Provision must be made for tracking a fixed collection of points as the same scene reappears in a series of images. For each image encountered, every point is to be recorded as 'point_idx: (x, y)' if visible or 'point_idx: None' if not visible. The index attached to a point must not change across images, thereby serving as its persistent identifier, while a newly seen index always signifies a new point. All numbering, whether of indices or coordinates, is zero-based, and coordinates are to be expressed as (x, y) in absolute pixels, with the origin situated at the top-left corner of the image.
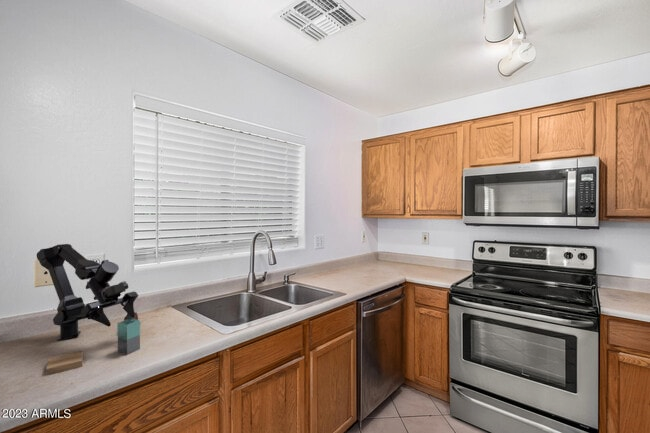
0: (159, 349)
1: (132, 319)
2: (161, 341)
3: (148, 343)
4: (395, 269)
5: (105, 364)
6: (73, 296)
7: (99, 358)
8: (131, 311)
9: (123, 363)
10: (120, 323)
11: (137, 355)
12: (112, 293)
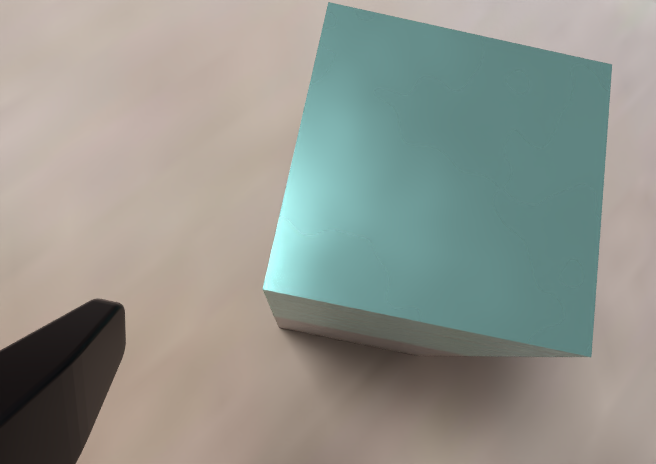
0: (286, 19)
1: (321, 180)
2: (118, 105)
3: (179, 201)
4: None
5: (626, 270)
6: None
7: (560, 430)
8: (19, 421)
9: None
10: (598, 251)
11: None
12: None
